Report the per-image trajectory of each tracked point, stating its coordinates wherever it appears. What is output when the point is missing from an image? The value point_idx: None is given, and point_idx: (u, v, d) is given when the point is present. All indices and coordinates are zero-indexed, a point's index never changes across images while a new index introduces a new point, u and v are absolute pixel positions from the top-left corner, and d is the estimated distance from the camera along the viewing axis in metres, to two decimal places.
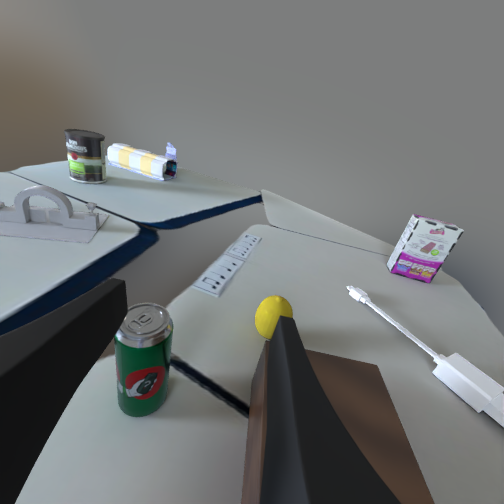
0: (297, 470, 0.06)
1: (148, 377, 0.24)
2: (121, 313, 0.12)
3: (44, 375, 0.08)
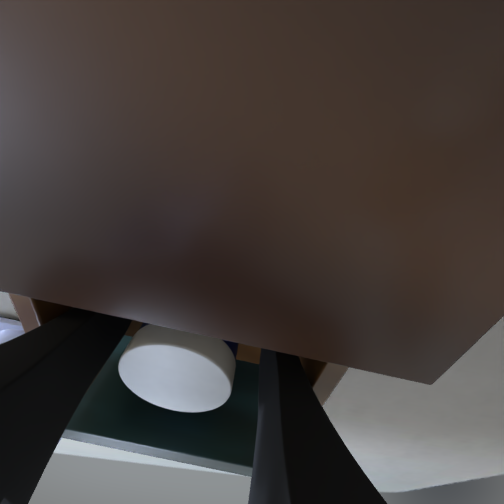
0: (282, 466, 0.06)
1: None
2: None
3: (56, 378, 0.08)
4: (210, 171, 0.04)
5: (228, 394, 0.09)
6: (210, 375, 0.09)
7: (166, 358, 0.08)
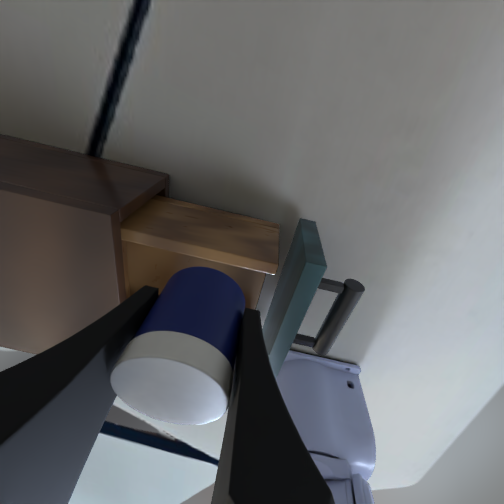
0: (230, 455, 0.06)
1: None
2: None
3: (93, 385, 0.08)
4: (53, 291, 0.15)
5: (226, 407, 0.09)
6: (206, 388, 0.08)
7: (159, 370, 0.08)
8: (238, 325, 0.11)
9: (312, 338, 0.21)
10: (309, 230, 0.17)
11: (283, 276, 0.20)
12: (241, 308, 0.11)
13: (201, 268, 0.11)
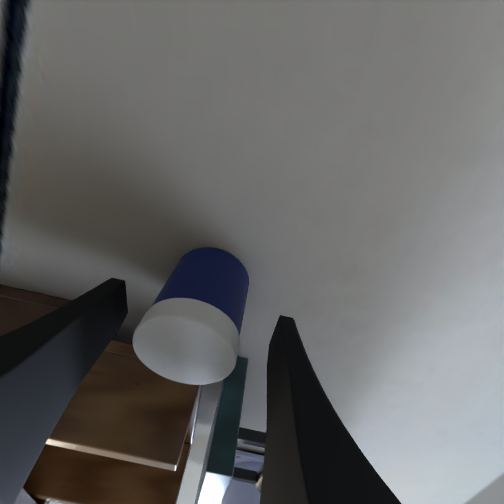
0: (297, 469, 0.06)
1: None
2: (121, 313, 0.12)
3: (44, 375, 0.08)
4: None
5: (233, 366, 0.10)
6: (216, 347, 0.09)
7: (176, 330, 0.09)
8: (243, 299, 0.12)
9: (254, 473, 0.18)
10: (233, 383, 0.14)
11: None
12: (245, 285, 0.13)
13: (209, 249, 0.13)
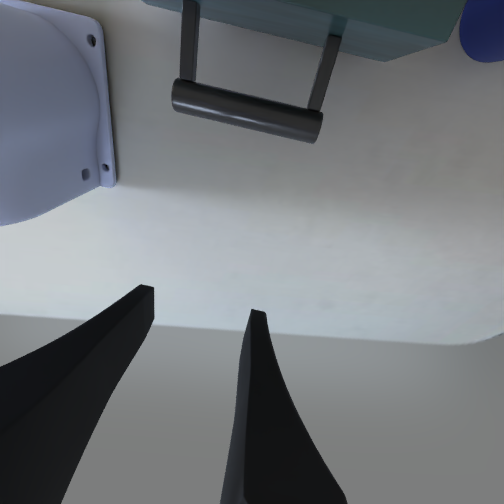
0: (242, 458, 0.06)
1: None
2: (149, 319, 0.12)
3: (86, 384, 0.08)
4: None
5: None
6: None
7: None
8: None
9: (194, 76, 0.12)
10: None
11: None
12: None
13: None
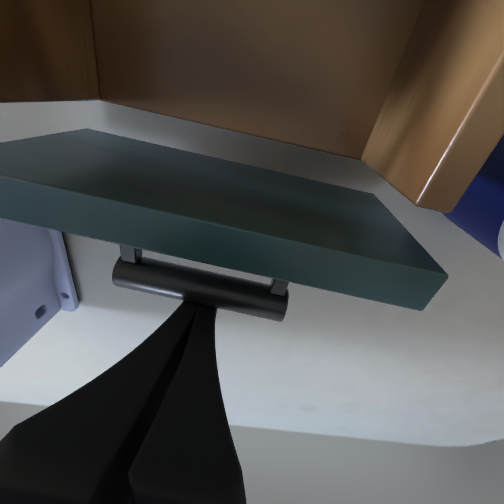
0: (148, 438, 0.06)
1: None
2: None
3: (157, 399, 0.08)
4: None
5: None
6: None
7: None
8: None
9: (140, 254, 0.10)
10: None
11: (270, 180, 0.09)
12: None
13: None
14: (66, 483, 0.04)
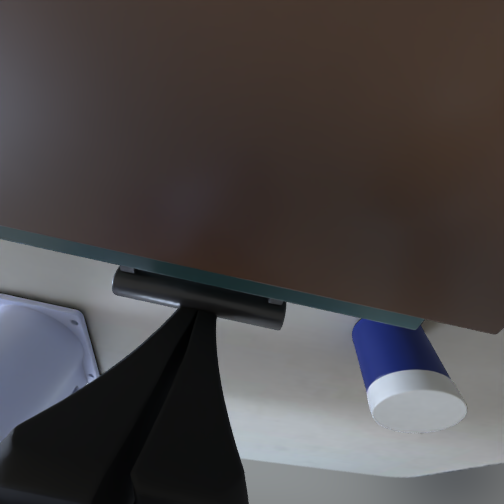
0: (150, 437, 0.06)
1: None
2: None
3: (158, 400, 0.08)
4: None
5: None
6: (421, 428, 0.13)
7: (448, 416, 0.12)
8: None
9: None
10: None
11: None
12: None
13: None
14: (67, 484, 0.04)
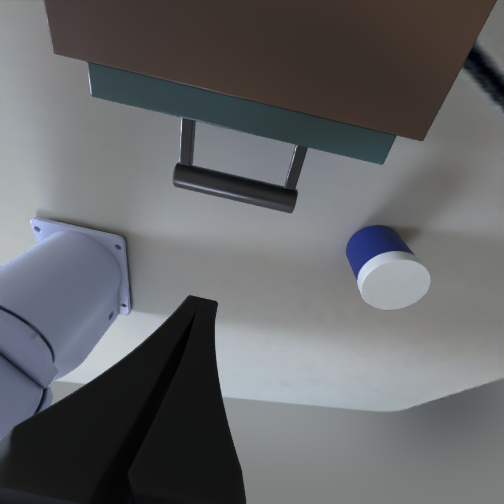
0: (148, 438, 0.06)
1: None
2: None
3: (157, 399, 0.08)
4: None
5: (379, 308, 0.17)
6: (399, 303, 0.17)
7: (417, 287, 0.16)
8: None
9: (192, 161, 0.14)
10: None
11: None
12: None
13: None
14: (66, 483, 0.04)
